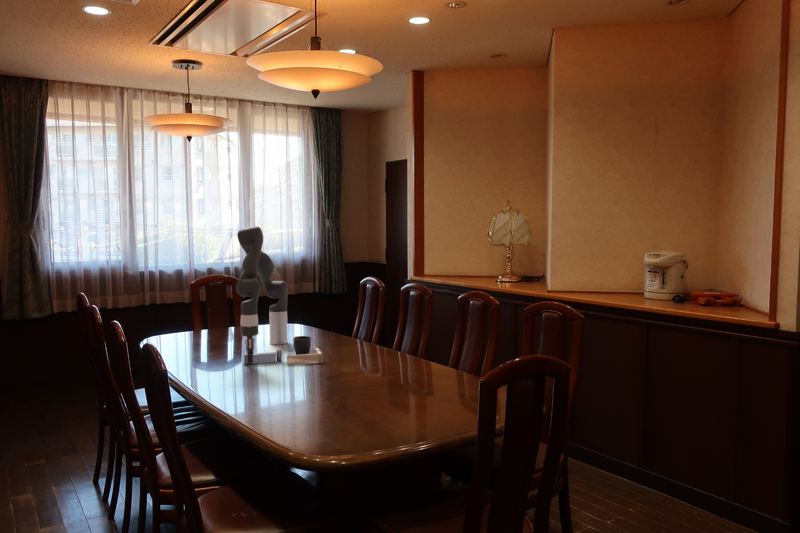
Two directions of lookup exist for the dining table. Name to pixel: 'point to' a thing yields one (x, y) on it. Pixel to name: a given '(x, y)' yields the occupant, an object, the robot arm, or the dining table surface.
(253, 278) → the robot arm
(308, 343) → the mug
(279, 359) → the hinge post
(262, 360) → the leg
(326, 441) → the dining table surface
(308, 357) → the seat frame
